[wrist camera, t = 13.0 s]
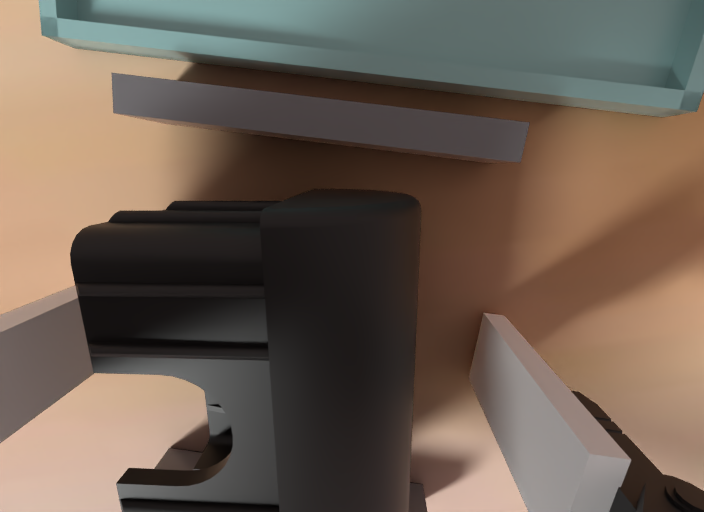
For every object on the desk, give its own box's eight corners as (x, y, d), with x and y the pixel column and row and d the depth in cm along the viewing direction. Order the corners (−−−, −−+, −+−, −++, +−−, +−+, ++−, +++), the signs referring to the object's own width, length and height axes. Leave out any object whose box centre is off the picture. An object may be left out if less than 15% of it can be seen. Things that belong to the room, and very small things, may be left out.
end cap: (398, 432, 15) (420, 647, 8) (230, 426, 15) (122, 627, 9) (406, 186, 12) (446, 211, 6) (205, 187, 13) (27, 209, 6)
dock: (169, 479, 16) (-15, 765, 8) (164, 92, 12) (-202, -40, 4) (416, 515, 16) (457, 845, 8) (496, 131, 12) (732, 66, 4)
